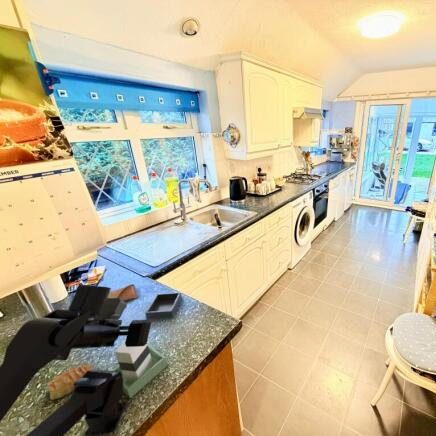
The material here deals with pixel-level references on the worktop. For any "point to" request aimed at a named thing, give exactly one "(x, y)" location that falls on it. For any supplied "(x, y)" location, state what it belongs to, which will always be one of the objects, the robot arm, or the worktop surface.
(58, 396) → the pastry
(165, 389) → the worktop surface
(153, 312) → the tray
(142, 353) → the package
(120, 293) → the sunglasses case
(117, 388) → the robot arm
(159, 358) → the front tote
